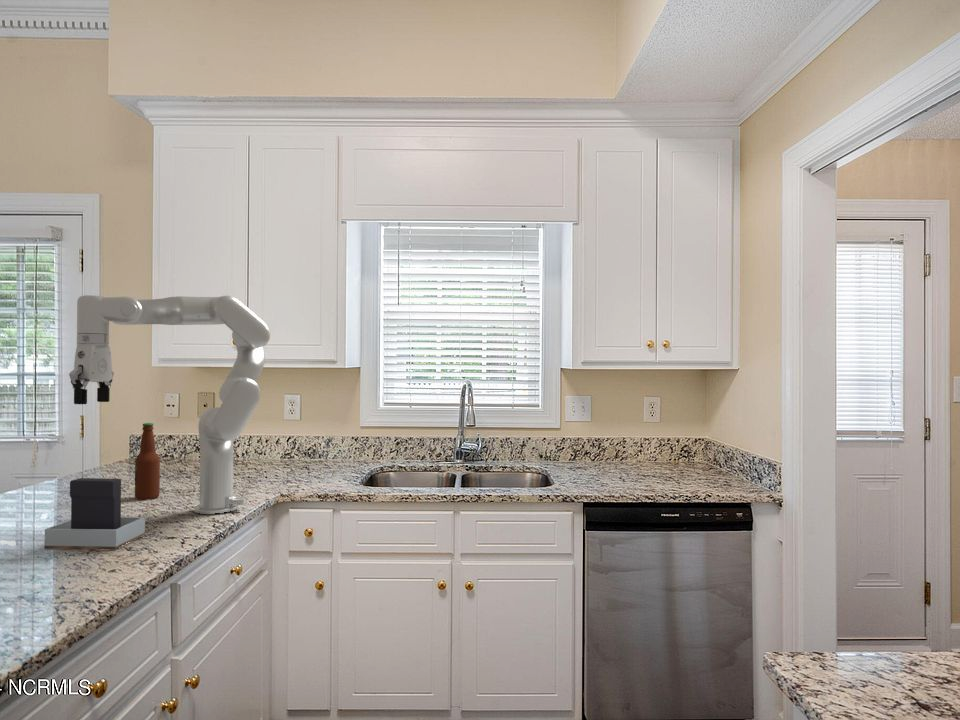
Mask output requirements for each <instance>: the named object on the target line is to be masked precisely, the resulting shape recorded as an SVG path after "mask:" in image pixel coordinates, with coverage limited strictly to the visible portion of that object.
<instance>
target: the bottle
mask: <svg viewBox="0 0 960 720" xmlns="http://www.w3.org/2000/svg"><path fill="white" fill-rule="evenodd" d="M139 448H140V449H139V450H140V452H139V453H138V455H137V456H136V458H135V461H134V498H135V499H136V500H137V499H138V501H148V500H147V499H151V500H155V499H158V497H160V486H161V485H160V481H161V480H160V479H161V478H160V477H161V475H160V473H161V472H160V471H161V469H160V468H161V463H160V462H161V461H160V460H161V459H160V456H159V455H158V454H157V452H156V441H155V435H154V423H153V422H144V423H142V434H141V439H140V447H139ZM154 498H155V499H154Z"/></svg>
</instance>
